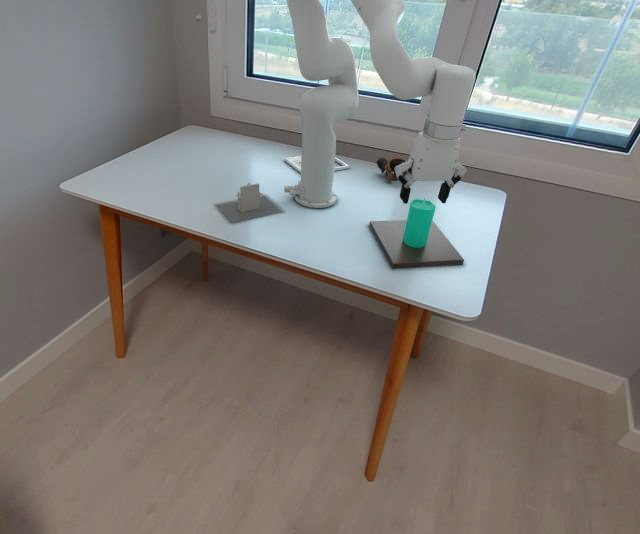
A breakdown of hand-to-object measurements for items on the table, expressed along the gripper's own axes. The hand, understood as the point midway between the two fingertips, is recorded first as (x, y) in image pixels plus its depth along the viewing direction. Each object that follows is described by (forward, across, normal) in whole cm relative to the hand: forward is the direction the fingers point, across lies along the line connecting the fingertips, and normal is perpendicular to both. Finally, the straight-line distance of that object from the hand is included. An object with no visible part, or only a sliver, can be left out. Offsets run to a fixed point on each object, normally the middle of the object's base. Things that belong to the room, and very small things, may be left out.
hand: (422, 200), depth 97 cm
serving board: (+13, -1, 0) cm, 13 cm away
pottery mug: (+14, -9, -42) cm, 45 cm away
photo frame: (+14, +15, -54) cm, 58 cm away
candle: (+11, 0, +1) cm, 11 cm away
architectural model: (+14, +40, -22) cm, 48 cm away
